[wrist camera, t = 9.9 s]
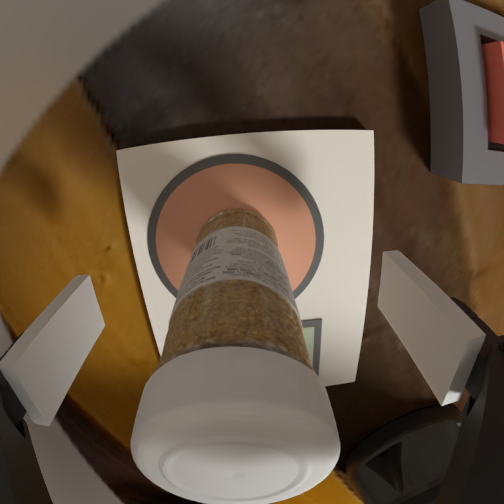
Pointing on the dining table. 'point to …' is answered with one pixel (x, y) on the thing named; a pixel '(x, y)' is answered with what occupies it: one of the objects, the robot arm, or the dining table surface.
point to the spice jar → (235, 379)
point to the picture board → (274, 211)
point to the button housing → (460, 91)
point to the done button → (494, 89)
